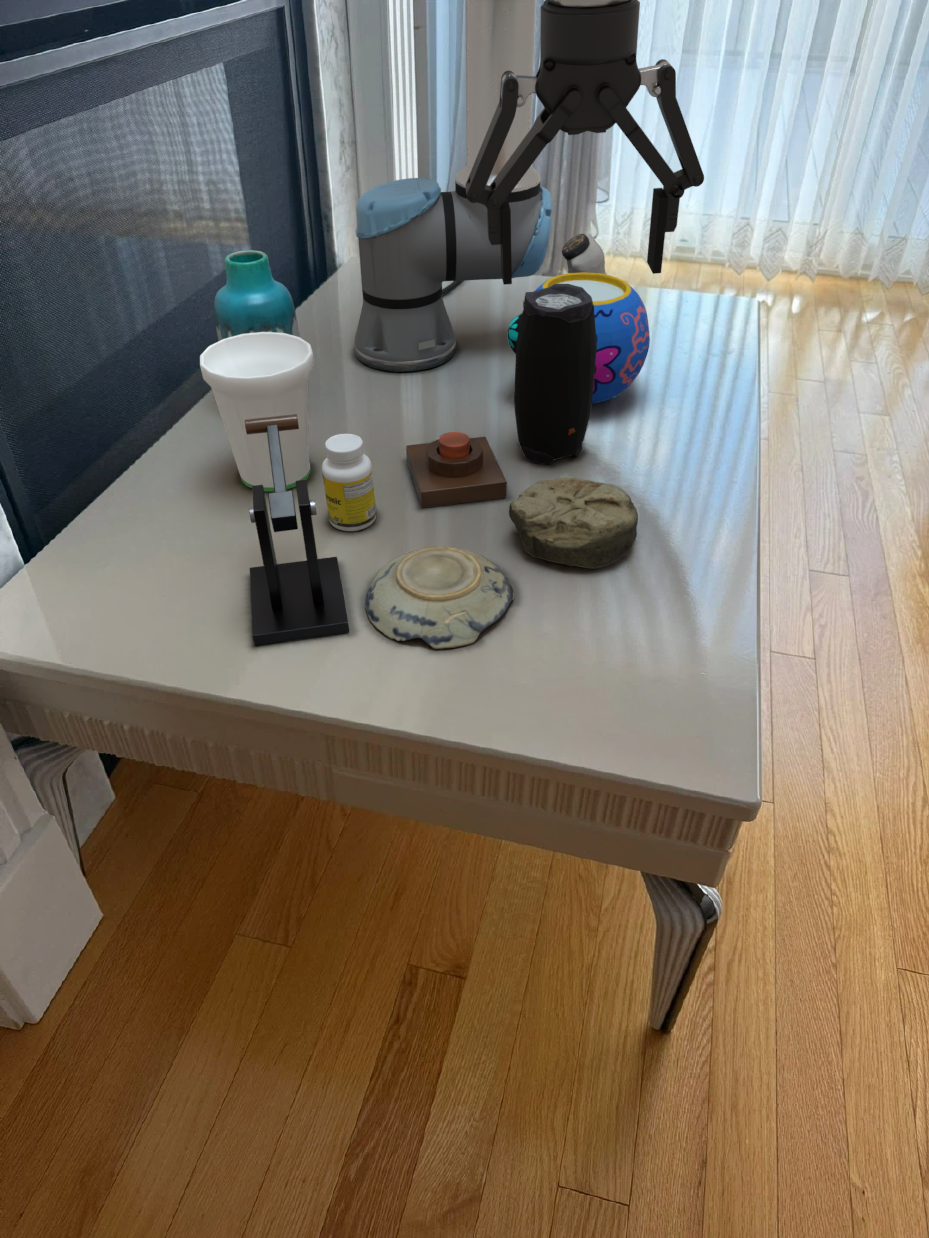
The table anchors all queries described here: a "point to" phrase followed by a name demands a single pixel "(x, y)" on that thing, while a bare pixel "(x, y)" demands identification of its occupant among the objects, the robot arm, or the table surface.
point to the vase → (252, 299)
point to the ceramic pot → (608, 330)
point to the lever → (277, 468)
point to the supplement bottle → (348, 483)
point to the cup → (262, 400)
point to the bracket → (294, 583)
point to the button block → (455, 474)
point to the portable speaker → (554, 372)
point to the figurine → (584, 255)
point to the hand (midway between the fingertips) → (580, 273)
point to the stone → (575, 522)
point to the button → (454, 445)
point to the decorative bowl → (438, 597)
